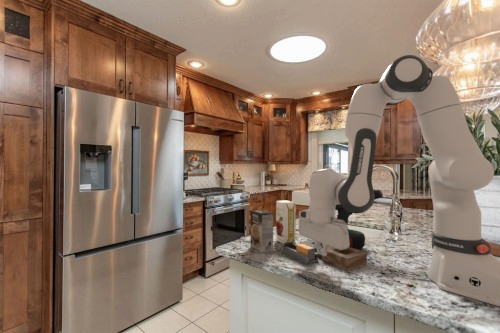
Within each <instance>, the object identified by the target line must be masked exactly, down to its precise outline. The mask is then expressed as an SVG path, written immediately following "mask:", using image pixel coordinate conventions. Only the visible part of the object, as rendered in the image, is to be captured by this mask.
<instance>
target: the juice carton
mask: <svg viewBox="0 0 500 333" xmlns="http://www.w3.org/2000/svg"><path fill="white" fill-rule="evenodd" d="M296 209H297V208H296V201H290V200H288V199H287V200H283V199H282V200H276V204H275V220H276V221H275V222H276V223H275V225H276V228H275V232H276V233H275V236H276V237H275V238H276V241H277V242H279V243H281V244H282V245H284V243H286V242H291V241H292V242H293V244H296V241H297V240H296V237H297V235H296V234H297V233H296V231H297V230H296V229H297V228H296V226H297V224H296V223H297V222H296V220H297V219H296V212H297V211H296Z"/></svg>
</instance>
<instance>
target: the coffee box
mask: <svg viewBox="0 0 500 333" xmlns="http://www.w3.org/2000/svg"><path fill="white" fill-rule="evenodd" d="M250 247H251V248H252V249H255V250H256V251H258V252H260V253H261V254H262V253H267V252H271V251H274V212H272V211H268V210H266V209H263V208H262V209H251V210H250Z"/></svg>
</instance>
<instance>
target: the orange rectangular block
mask: <svg viewBox="0 0 500 333" xmlns="http://www.w3.org/2000/svg"><path fill="white" fill-rule="evenodd" d="M296 251H298V252H300V253H303V254H305V255H307V256H308V257H309V261H310V260H313V259H315V248H313V247H310V246H308V245H305V244H300V243H298V244H296Z"/></svg>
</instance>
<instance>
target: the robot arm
mask: <svg viewBox="0 0 500 333" xmlns="http://www.w3.org/2000/svg"><path fill="white" fill-rule="evenodd" d="M406 99H407V100H408V101H409V102H411V104H412V106H413V107H414V108H415V112H416V113H415V114H416V117H417V120H418V123H419V128H420V131H421V135H422V137H423V141H424V143H425V144H426V146H427V147H428V149H429V151H430V154H431V156H432V158H433V161H432V162H431V163H430V164H429V167H428V177H429V188H430V195H431V200H432V206H433V208H432V209H433V231H432V233H431V249H432V256H431V261H430V266H429V269H428V271H427V274H426V276H427V277H428V278H429V280H430V281H432V282H433V283H435V284H436V286H437V287H438V288H439V289H440V290H443V291H447V292H450V293H453V294H457V295H459V296H462V297H463V296H464V297H466V298H470V299H474V300H476V301H479V302H484V303H487V304H491V305H494V306H497V307H500V259H498V258H497V257H495V256H494V255H493V254H491V252H492V246H493V244H492V241H491V242H487V240H485V239H484V238H482V210H481V208H480V207H479V204H478V202H477V201H478V200H477V197H476V193H475V191H476V190H481V189H483V188H485V187H486V186H488V185H490V184H491V182H492V180H493V178H494V176H495V170H494V166H493V165H492V163H491V162H490V160H488V159H487V158H486V157H485V155H484V153H483V152H482V150H481V148H480V147H479V145H478V143H477V142H476V140H475V139H474V136H473V134H472V133H471V130H470V128H469V126H468V122H467V119H466V115H465V112H464V109H463V106H462V103H461V100H460V98H459V94H458V93H457V90H456V88H455V87H454V84H453V83H452V81H451V80H450V78H449V77H448V76H446V75H442V74H441V75H439V74H437V75H433V70H432V69H431V68H429V67H428V65H427V64H426V62H425V60H423V59H422V58H421V57H418V56H416V55H413V54H407V55H403V56H400V57H398V58H396V59H395V60H394V61H392V62H391V63H390V64H389V65H388V66H387V68H386V70H384V73H383V74H382V75H381V78H380V80H379V81H378V82H376V83H364V84H362V85H359V86H357V88H355V90H354V92H353V95H352V97H351V99H350V103H349V104H348V108H347V112H346V113H347V114H346V118H345V125H344V126H345V127H344V128H345V129H344V134H345V137H346V139H347V140H348V142H349V143H350V144H351V150H352V152H351V159H350V166H349V170H348V172H349V173H348V175H347V176H345V175H343V174H340V173H339V172H337V171H336V170H334V169H333V168H322V169H317V170H315V171H313V172H312V173H311V175H310V178H309V184H308V186H309V187H308V194H309V199H310V200H309V204H308V209H304V210H300V211H298V216H299V218H298V233H299V235H300V236H301V237H304V238H307V239H309V240H314V244H315V246H316V248H317V254H319V255H322V256H326V255H327V250H328V248H329V247H330V246H331V247H334V248H337V249H339V250H344V249H347V248H348V247H349V245H350V243H349V233H348V229H349V226H348V225H349V224H348V225H347V224H346V223H345V222H344V220H341V219H337V217H336V210H335V206H336V205H337V204H341V206H342V207H343V208H344V209H345V210H346V211H348V212H350V213H353V214H363V213H365V212H367V211H368V210H370V209H371V207H372V206H373V205H374V202H375V200H374V198H375V195H374V190H375V189H374V187H373V182H372V179H373V171H374V170H373V169H374V162H375V157H376V156H375V155H376V148H377V142H378V137H379V133H380V130H381V126H382V122H383V117H384V116H383V115H384V110H385V107H389V106H394V105H398V104H402V103H403V102H404V101H406ZM344 223H345V224H344ZM320 243H322V246H323V249H322V247H321V244H320Z"/></svg>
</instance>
